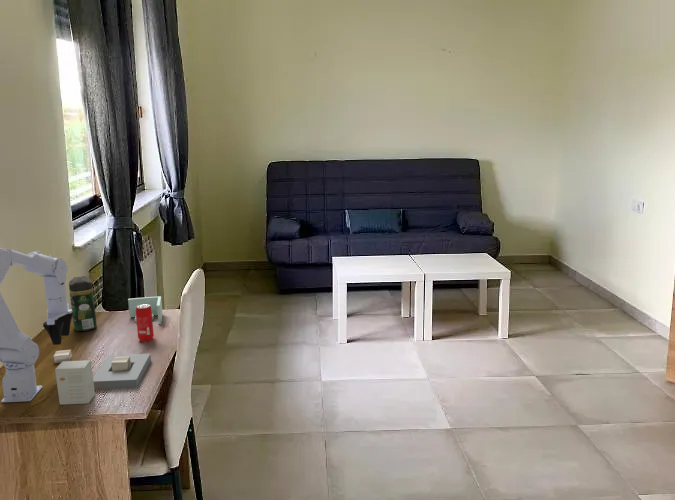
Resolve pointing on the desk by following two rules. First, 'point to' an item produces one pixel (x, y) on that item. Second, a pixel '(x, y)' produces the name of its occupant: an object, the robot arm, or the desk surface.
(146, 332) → the beverage can
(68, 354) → the short peg
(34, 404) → the desk surface
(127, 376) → the hole board
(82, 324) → the coffee jar
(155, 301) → the l-shaped corner panel
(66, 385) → the small box
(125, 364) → the cream square block
